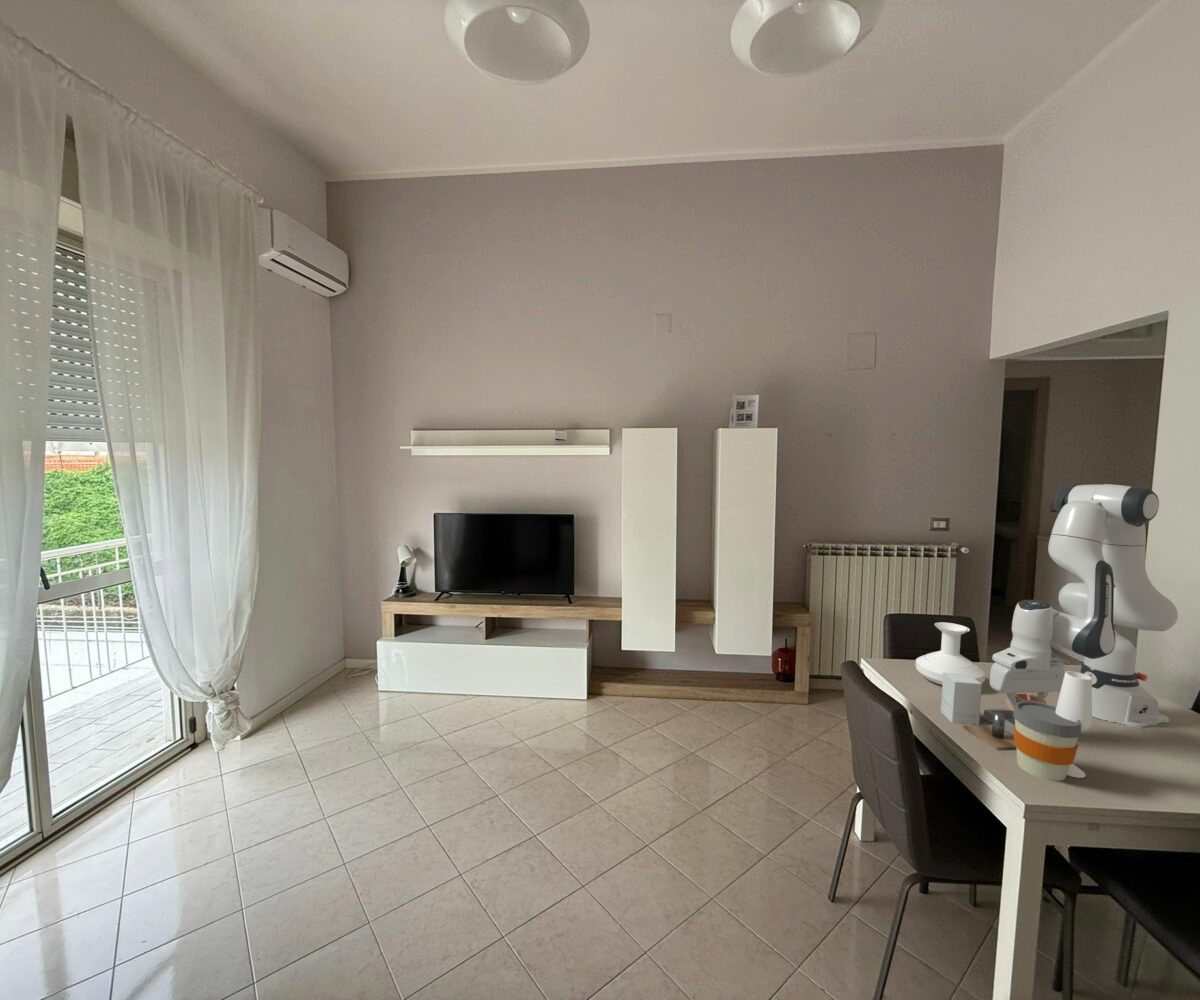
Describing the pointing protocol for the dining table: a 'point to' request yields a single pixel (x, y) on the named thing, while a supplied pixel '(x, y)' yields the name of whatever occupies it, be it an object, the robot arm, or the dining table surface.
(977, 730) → the stake board
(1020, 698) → the collar
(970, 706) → the supplement box
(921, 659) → the candle holder
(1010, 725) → the tray
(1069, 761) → the reusable coffee cup
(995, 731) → the cylinder
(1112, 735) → the dining table surface
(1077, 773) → the champagne flute
